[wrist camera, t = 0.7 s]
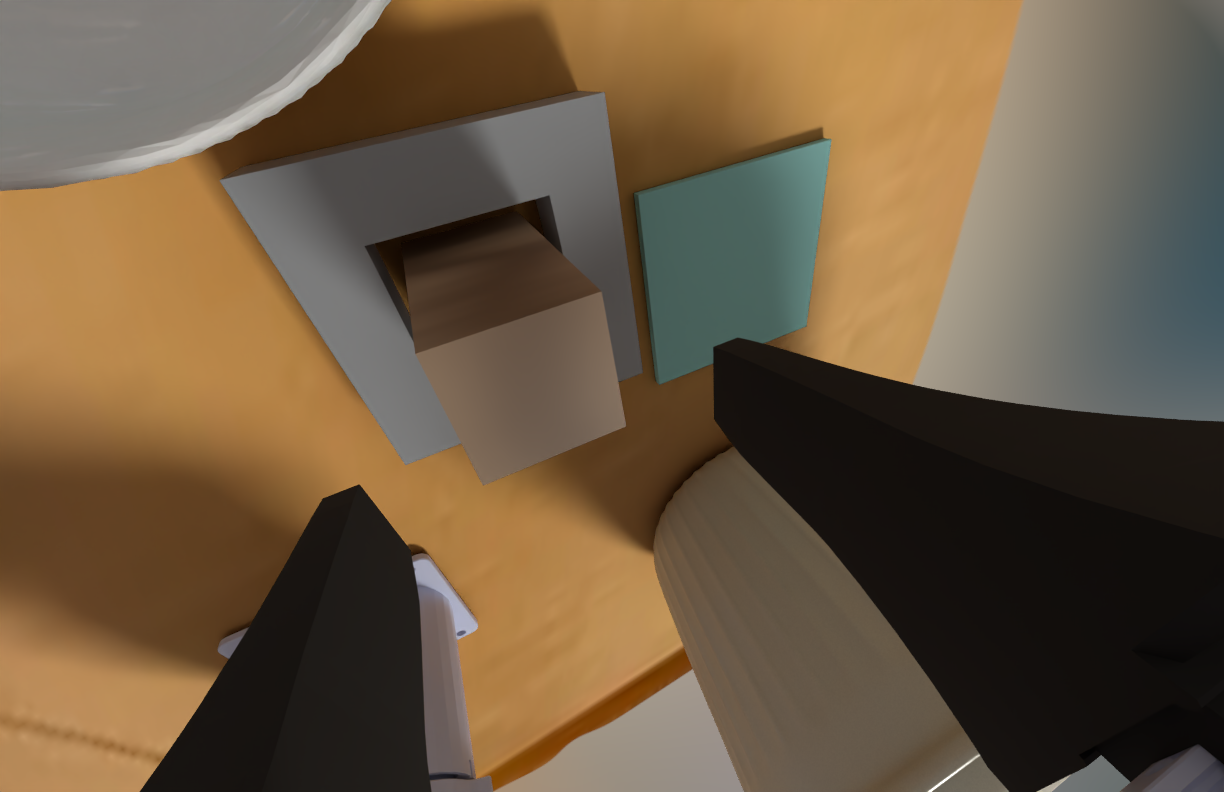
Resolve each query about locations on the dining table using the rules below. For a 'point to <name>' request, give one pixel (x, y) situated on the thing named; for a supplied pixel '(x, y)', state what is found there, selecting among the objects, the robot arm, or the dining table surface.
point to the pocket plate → (421, 199)
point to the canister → (799, 651)
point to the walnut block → (511, 343)
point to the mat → (730, 254)
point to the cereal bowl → (154, 77)
